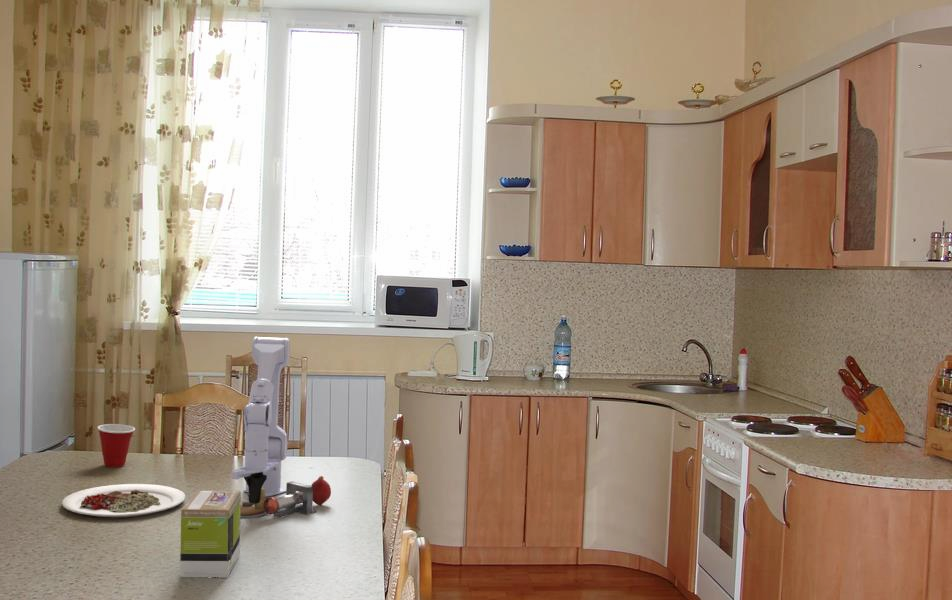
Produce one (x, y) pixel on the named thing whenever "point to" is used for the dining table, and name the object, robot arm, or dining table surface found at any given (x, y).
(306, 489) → the eye bracket
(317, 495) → the pomegranate
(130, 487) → the plated food
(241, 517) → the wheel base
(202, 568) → the tea box
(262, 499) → the handwheel
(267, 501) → the copper capped rod
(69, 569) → the dining table surface
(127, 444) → the plastic cup
